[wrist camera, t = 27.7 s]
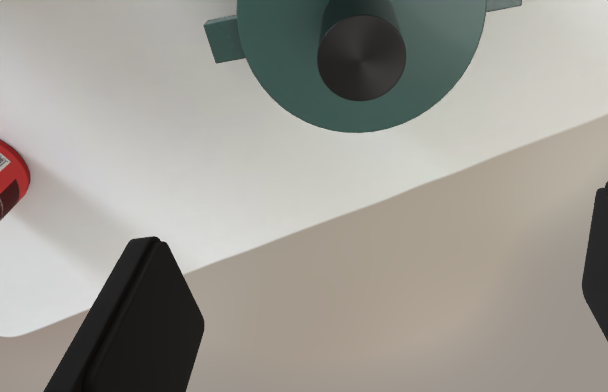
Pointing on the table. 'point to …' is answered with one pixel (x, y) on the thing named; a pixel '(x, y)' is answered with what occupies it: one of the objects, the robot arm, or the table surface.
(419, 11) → the lid
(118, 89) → the table surface
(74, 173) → the table surface
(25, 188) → the canned food
